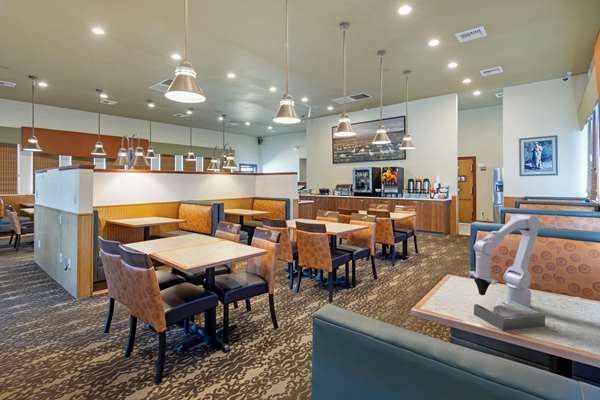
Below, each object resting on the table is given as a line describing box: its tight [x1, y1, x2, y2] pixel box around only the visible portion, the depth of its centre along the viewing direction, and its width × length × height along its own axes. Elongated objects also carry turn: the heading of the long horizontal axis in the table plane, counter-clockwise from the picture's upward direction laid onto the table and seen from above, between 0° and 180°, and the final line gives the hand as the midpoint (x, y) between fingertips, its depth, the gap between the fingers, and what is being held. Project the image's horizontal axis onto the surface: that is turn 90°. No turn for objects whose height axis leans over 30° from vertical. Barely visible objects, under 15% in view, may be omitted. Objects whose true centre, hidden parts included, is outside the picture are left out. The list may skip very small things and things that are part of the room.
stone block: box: [492, 304, 528, 317], centre depth 135 cm, size 12×5×10 cm
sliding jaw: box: [508, 301, 540, 315], centre depth 135 cm, size 2×13×4 cm, turn 11°
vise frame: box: [473, 303, 546, 331], centre depth 132 cm, size 20×16×4 cm
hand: (482, 294), depth 144 cm, fingers closed
